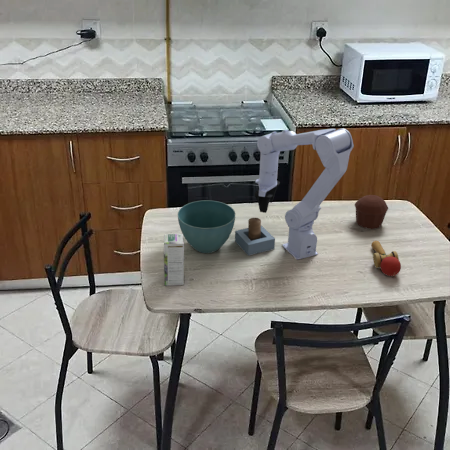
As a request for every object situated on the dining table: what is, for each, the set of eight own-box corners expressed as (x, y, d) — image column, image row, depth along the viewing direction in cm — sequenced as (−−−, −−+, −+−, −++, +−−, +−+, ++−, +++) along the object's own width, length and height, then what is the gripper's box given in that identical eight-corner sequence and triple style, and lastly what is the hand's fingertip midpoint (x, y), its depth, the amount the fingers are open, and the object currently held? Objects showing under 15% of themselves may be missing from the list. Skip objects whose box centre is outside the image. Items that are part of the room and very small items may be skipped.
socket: (274, 249, 188) (275, 238, 186) (248, 255, 184) (248, 244, 182) (260, 235, 195) (260, 224, 193) (234, 241, 191) (235, 230, 189)
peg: (261, 240, 190) (262, 218, 186) (258, 246, 187) (258, 224, 183) (250, 238, 191) (250, 216, 187) (246, 244, 188) (246, 222, 184)
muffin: (367, 212, 211) (370, 187, 206) (391, 224, 203) (396, 198, 198) (345, 221, 204) (349, 196, 199) (370, 234, 197) (374, 208, 192)
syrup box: (164, 275, 174) (162, 233, 167) (184, 274, 174) (183, 233, 167) (164, 286, 169) (162, 244, 162) (184, 285, 169) (184, 243, 162)
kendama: (360, 252, 189) (378, 277, 173) (366, 235, 187) (384, 258, 171) (383, 256, 190) (402, 281, 174) (388, 238, 188) (409, 262, 172)
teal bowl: (223, 266, 178) (224, 232, 172) (169, 255, 183) (168, 221, 177) (241, 238, 193) (242, 205, 187) (190, 228, 198) (190, 196, 192)
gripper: (262, 159, 193) (260, 195, 200) (250, 176, 181) (248, 214, 188) (283, 162, 191) (280, 198, 198) (272, 180, 179) (269, 218, 186)
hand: (266, 206), depth 193 cm, fingers open, 7 cm apart
